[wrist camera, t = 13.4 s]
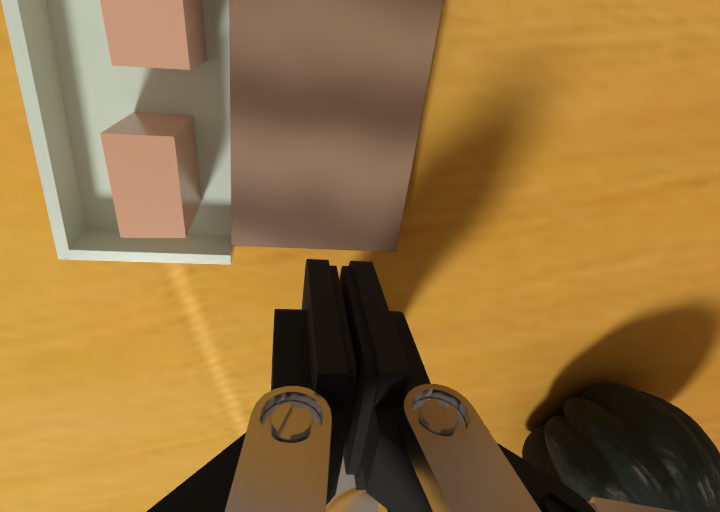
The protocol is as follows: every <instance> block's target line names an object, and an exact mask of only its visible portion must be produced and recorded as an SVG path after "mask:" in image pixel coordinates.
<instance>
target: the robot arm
mask: <svg viewBox="0 0 720 512" xmlns="http://www.w3.org/2000/svg"><path fill="white" fill-rule="evenodd" d="M343 458H344V466H345V472H346V474H347V475H354V478H355V485H356V491H357V490H366V493H367V494H369V495H370V496H371V497H372V498H374V499H375V500H376V501H377V502H378V511H379V512H679V511H673V510H667V509H661V508H655V507H650V506H644V505H638V504H632V503H626V502H621V501H615V500H609V499H603V498H597V497H592V498H591V500H590V501H589V502H587V501H586V500H585V499H584V498H583V497H582V496H580V495H579V494H578V493H576V492H575V491H574V490H572V489H571V488H569V487H568V486H566V485H564V484H563V483H561V482H560V481H558V480H556V479H555V478H553V477H551V476H550V475H548V474H547V473H545V472H543V471H542V470H540V469H538V468H537V467H535V466H534V465H532V464H530V463H529V462H527V461H525V460H524V459H522V458H521V457H519V456H517V455H516V454H514V453H512V452H511V451H509V450H508V449H506V448H504V447H503V446H501V445H499V444H498V443H496V441H495V440H494V438H493V437H492V435H491V434H490V432H489V430H488V429H487V427H486V426H485V424H484V423H483V421H482V420H481V418H480V417H479V415H478V414H477V412H476V410H475V409H474V407H473V406H472V405H471V404H470V402H469V401H468V400H467V399H466V398H465V397H464V396H462V395H461V394H460V393H458V392H457V391H455V390H453V389H451V388H449V387H447V386H442V385H438V384H431V383H430V381H429V378H428V376H427V373H426V370H425V368H424V365H423V363H422V360H421V358H420V355H419V352H418V350H417V347H416V345H415V342H414V340H413V337H412V334H411V332H410V329H409V327H408V324H407V321H406V319H405V316H404V315H403V313H402V312H397V311H389V309H388V306H387V303H386V301H385V298H384V295H383V292H382V289H381V286H380V283H379V280H378V277H377V274H376V271H375V269H374V266H373V263H372V262H365V261H350V263H349V266H342V268H341V274H340V281H339V276H338V271H337V267H336V266H329V261H328V260H318V259H307V260H306V267H305V279H304V290H303V302H302V310H295V309H275V313H274V332H273V354H272V380H271V391H270V392H268V393H266V394H264V395H263V396H262V397H261V398H260V399H259V400H258V401H257V402H256V404H255V406H254V409H253V411H252V413H251V417H250V421H249V424H248V428H247V432H246V433H245V434H243V435H242V436H241V437H240V438H238V439H237V440H236V441H235V442H233V443H232V444H231V445H230V446H228V447H227V448H226V449H225V450H223V451H222V452H221V453H220V454H218V455H217V456H216V457H215V458H213V459H212V460H211V461H210V462H208V463H207V464H206V465H205V466H203V467H202V468H201V469H199V470H198V471H197V472H196V473H194V474H193V475H192V476H191V477H189V478H188V479H187V480H186V481H184V482H183V483H182V484H181V485H179V486H178V487H177V488H176V489H174V490H173V491H172V492H171V493H169V494H168V495H167V496H166V497H164V498H163V499H162V500H161V501H159V502H158V503H157V504H155V505H154V506H153V507H152V508H150V509H149V510H148V511H147V512H326V506H327V504H328V503H329V502H330V501H331V500H332V499H333V497H334V496H335V495H336V490H337V485H338V479H339V475H340V471H341V465H342V460H343Z"/></svg>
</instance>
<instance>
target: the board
mask: <svg viewBox="0 0 720 512" xmlns="http://www.w3.org/2000/svg"><path fill="white" fill-rule="evenodd" d="M442 5H443V0H229V40H230V143H231V245H233V246H259V247H284V248H309V249H335V250H360V251H385V252H396V248H397V243H398V238H399V233H400V227H401V222H402V217H403V211H404V206H405V201H406V195H407V190H408V185H409V180H410V174H411V169H412V164H413V158H414V153H415V148H416V142H417V137H418V132H419V126H420V121H421V116H422V111H423V105H424V100H425V95H426V89H427V84H428V79H429V73H430V68H431V63H432V58H433V52H434V47H435V42H436V36H437V31H438V26H439V20H440V15H441V10H442Z"/></svg>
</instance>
